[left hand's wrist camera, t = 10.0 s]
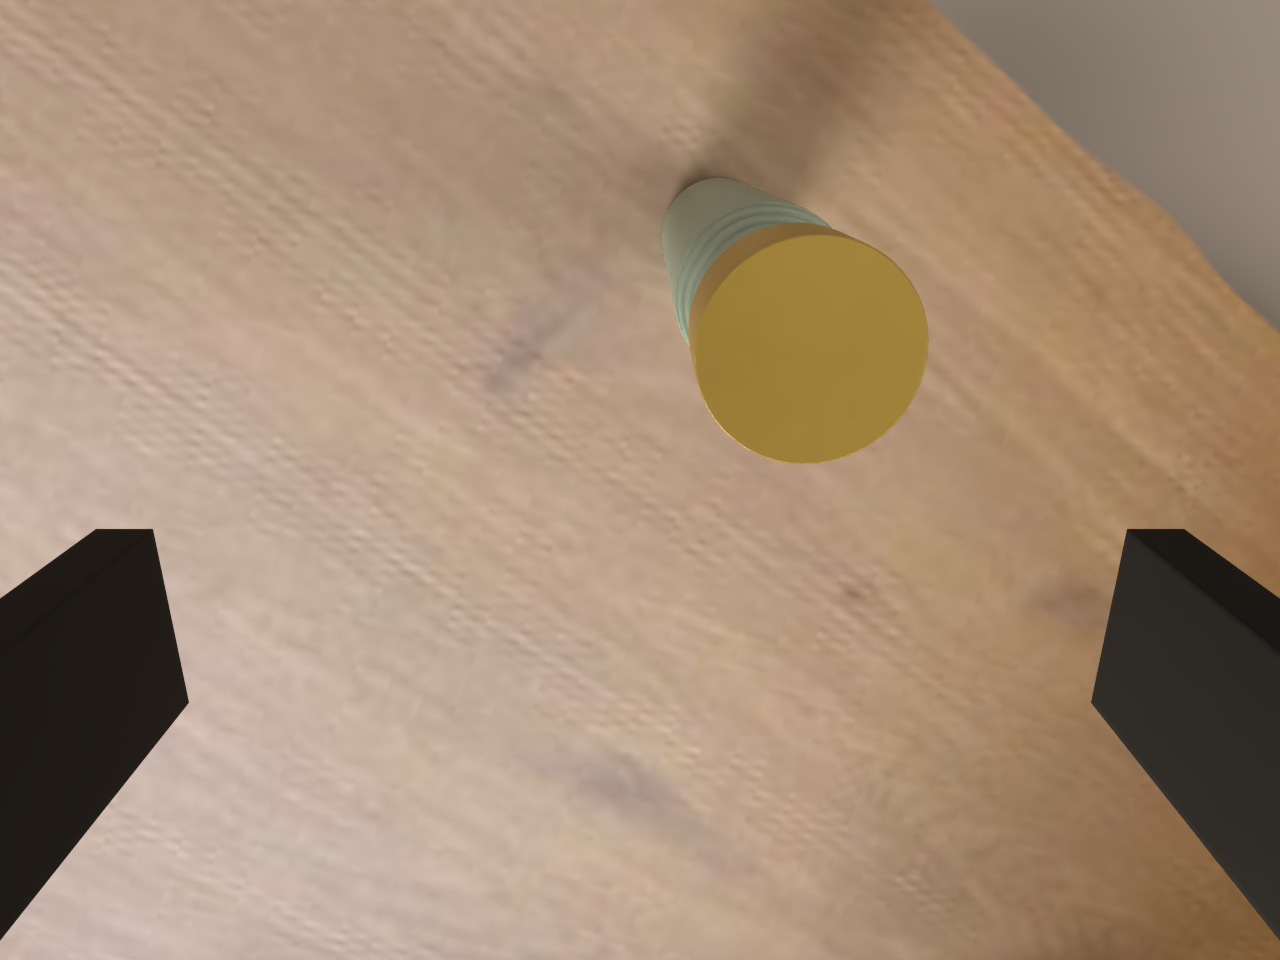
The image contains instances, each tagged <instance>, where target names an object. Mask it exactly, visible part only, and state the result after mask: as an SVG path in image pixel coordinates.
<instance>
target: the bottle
mask: <svg viewBox="0 0 1280 960" xmlns="http://www.w3.org/2000/svg"><path fill="white" fill-rule="evenodd" d="M797 222H800V223H813V224H817V225H822V226H826V227H829V228H831V227H830V226H829V225H828V224H827V223H826V222H825V221H824V220H822V219H821V218H820V217H818V216H817V215H815V214H814V213H812V212H810V211H808V210H806V209H804V208H802V207H799V206H797V205H794V204H792V203H790V202H787V201H785V200H782V199H780V198H778V197H775V196H773V195H770V194H768V193H765V192H763V191H761V190H758V189H756V188H753V187H751V186H749V185H746V184H744V183H741V182H739V181H736V180H733V179H728V178H709V179H704V180H701V181H699V182H696V183H694V184H692V185H690V186H689V187H687V188H686V189H684V190H683V191H682V192H681V193H680V194H679V195H678V196H677V197H676V198H675V199H674V201H673V202H672V204H671V205H670V207H669V208H668V210H667V212H666V215H665V218H664V221H663V225H662V233H661V241H662V249H663V254H664V259H665V264H666V269H667V274H668V279H669V284H670V288H671V293H672V298H673V303H674V308H675V313H676V318H677V322H678V325H679V328H680V331H681V333H682V335H683V337H684V339H685V341H686V343H687V344H688V346H689V338H688V324H689V314H690V310H691V306H692V301H693V299H694V296H695V293H696V290H697V288H698V286H699V284H700V282H701V280H702V278H703V276H704V275H705V273H706V272H707V271H708V269H709V268H710V266H711V265H712V264H713V263H714V261H715V260H716V259H717V258H718V257H719V256H720V255H721V254H722V253H723V252H724V251H725V250H726V249H728V248H729V247H730V246H731V245H732V244H734V243H735V242H737V241H738V240H740V239H741V238H743V237H745V236H747V235H749V234H751V233H753V232H755V231H757V230H760V229H763V228H766V227H769V226H773V225H778V224H783V223H797Z"/></svg>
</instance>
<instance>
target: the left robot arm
mask: <svg viewBox="0 0 1280 960" xmlns="http://www.w3.org/2000/svg"><path fill="white" fill-rule="evenodd" d="M188 703H189V701H188V696H187V691H186V686H185V681H184V677H183V672H182V667H181V662H180V657H179V653H178V648H177V643H176V638H175V633H174V628H173V624H172V619H171V614H170V609H169V604H168V600H167V595H166V590H165V585H164V580H163V576H162V571H161V566H160V561H159V556H158V552H157V547H156V542H155V537H154V532H153V529H95V530H94V531H93V532H91V533H90V534H89V535H87V536H86V537H84V538H83V539H82V540H80V541H79V542H78V543H76V544H75V545H73V546H72V547H71V548H69V549H68V550H67V551H65V552H64V553H62V554H61V555H60V556H58V557H57V558H55V559H54V560H53V561H51V562H50V563H49V564H47V565H46V566H44V567H43V568H42V569H40V570H39V571H38V572H36V573H35V574H33V575H32V576H31V577H29V578H28V579H27V580H25V581H24V582H22V583H21V584H20V585H18V586H17V587H16V588H14V589H13V590H11V591H10V592H9V593H7V594H6V595H5V596H3V597H2V598H0V940H1V939H2V938H3V936H4V935H5V934H6V932H7V931H8V930H9V929H10V927H11V926H12V925H13V924H14V922H15V921H16V920H17V919H18V917H19V916H20V915H21V914H22V912H23V911H24V910H25V909H26V907H27V906H28V905H29V903H30V902H31V901H32V900H33V898H34V897H35V896H36V895H37V893H38V892H39V891H40V890H41V888H42V887H43V886H44V885H45V883H46V882H47V881H48V880H49V878H50V877H51V876H52V875H53V873H54V872H55V871H56V869H57V868H58V867H59V866H60V864H61V863H62V862H63V861H64V859H65V858H66V857H67V856H68V854H69V853H70V852H71V851H72V849H73V848H74V847H75V846H76V844H77V843H78V842H79V840H80V839H81V838H82V837H83V835H84V834H85V833H86V832H87V830H88V829H89V828H90V827H91V825H92V824H93V823H94V822H95V820H96V819H97V818H98V817H99V815H100V814H101V813H102V811H103V810H104V809H105V808H106V806H107V805H108V804H109V803H110V801H111V800H112V799H113V798H114V796H115V795H116V794H117V793H118V791H119V790H120V789H121V788H122V786H123V785H124V784H125V783H126V781H127V780H128V779H129V777H130V776H131V775H132V774H133V772H134V771H135V770H136V769H137V767H138V766H139V765H140V764H141V762H142V761H143V760H144V759H145V757H146V756H147V755H148V754H149V752H150V751H151V750H152V748H153V747H154V746H155V745H156V743H157V742H158V741H159V740H160V738H161V737H162V736H163V735H164V733H165V732H166V731H167V730H168V728H169V727H170V726H171V725H172V723H173V722H174V721H175V720H176V718H177V717H178V716H179V714H180V713H181V712H182V711H183V709H184V708H185V707H186V706H187V704H188ZM1091 703H1092V704H1093V706H1094V707H1095V708H1096V709H1097V711H1098V712H1099V713H1100V714H1101V716H1102V717H1103V718H1104V720H1105V721H1106V722H1107V723H1108V725H1109V726H1110V727H1111V728H1112V730H1113V731H1114V732H1115V733H1116V735H1117V736H1118V737H1119V738H1120V740H1121V741H1122V742H1123V743H1124V745H1125V746H1126V747H1127V748H1128V750H1129V751H1130V752H1131V754H1132V755H1133V756H1134V757H1135V759H1136V760H1137V761H1138V762H1139V764H1140V765H1141V766H1142V767H1143V769H1144V770H1145V771H1146V772H1147V774H1148V775H1149V776H1150V777H1151V779H1152V780H1153V781H1154V783H1155V784H1156V785H1157V786H1158V788H1159V789H1160V790H1161V791H1162V793H1163V794H1164V795H1165V796H1166V798H1167V799H1168V800H1169V801H1170V803H1171V804H1172V805H1173V806H1174V808H1175V809H1176V810H1177V811H1178V813H1179V814H1180V815H1181V817H1182V818H1183V819H1184V820H1185V822H1186V823H1187V824H1188V825H1189V827H1190V828H1191V829H1192V830H1193V832H1194V833H1195V834H1196V835H1197V837H1198V838H1199V839H1200V840H1201V842H1202V843H1203V844H1204V846H1205V847H1206V848H1207V849H1208V851H1209V852H1210V853H1211V854H1212V856H1213V857H1214V858H1215V859H1216V861H1217V862H1218V863H1219V864H1220V866H1221V867H1222V868H1223V869H1224V871H1225V872H1226V873H1227V875H1228V876H1229V877H1230V878H1231V880H1232V881H1233V882H1234V883H1235V885H1236V886H1237V887H1238V888H1239V890H1240V891H1241V892H1242V893H1243V895H1244V896H1245V897H1246V898H1247V900H1248V901H1249V902H1250V903H1251V905H1252V906H1253V907H1254V909H1255V910H1256V911H1257V912H1258V914H1259V915H1260V916H1261V917H1262V919H1263V920H1264V921H1265V922H1266V924H1267V925H1268V926H1269V927H1270V929H1271V930H1272V931H1273V932H1274V934H1275V935H1276V936H1277V938H1278V939H1279V940H1280V598H1278V597H1277V596H1275V595H1274V594H1273V593H1271V592H1270V591H1269V590H1267V589H1266V588H1264V587H1263V586H1262V585H1260V584H1259V583H1258V582H1256V581H1255V580H1253V579H1252V578H1251V577H1249V576H1248V575H1247V574H1245V573H1244V572H1242V571H1241V570H1240V569H1238V568H1237V567H1236V566H1234V565H1233V564H1231V563H1230V562H1229V561H1227V560H1226V559H1225V558H1223V557H1222V556H1220V555H1219V554H1218V553H1216V552H1215V551H1213V550H1212V549H1211V548H1209V547H1208V546H1207V545H1205V544H1204V543H1202V542H1201V541H1200V540H1198V539H1197V538H1196V537H1194V536H1193V535H1191V534H1190V533H1189V532H1187V531H1186V530H1185V529H1127V532H1126V537H1125V542H1124V547H1123V552H1122V556H1121V561H1120V566H1119V571H1118V576H1117V580H1116V585H1115V590H1114V595H1113V600H1112V604H1111V609H1110V614H1109V619H1108V624H1107V629H1106V633H1105V638H1104V643H1103V648H1102V653H1101V657H1100V662H1099V667H1098V672H1097V677H1096V681H1095V686H1094V691H1093V696H1092V701H1091Z"/></svg>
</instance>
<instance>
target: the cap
mask: <svg viewBox="0 0 1280 960" xmlns="http://www.w3.org/2000/svg"><path fill="white" fill-rule="evenodd" d="M688 338H689V347H690V353H691V357H692V362H693V366H694V370H695V374H696V378H697V383H698V386H699V389H700V392H701V396H702V398H703V400H704V402H705V404H706V406H707V408H708V410H709V412H710V413H711V415H712V416H713V418H714V419H715V421H716V422H717V423H718V424H719V426H720V427H721V428H722V429H723V430H724V431H725V432H726V433H727V434H728V435H729V436H730V437H731V438H732V439H733V440H735V441H736V442H737V443H739V444H740V445H742V446H743V447H745V448H746V449H748V450H750V451H752V452H754V453H756V454H758V455H760V456H763V457H766V458H769V459H772V460H776V461H780V462H785V463H795V464H814V463H822V462H828V461H833V460H836V459H839V458H843V457H846V456H848V455H850V454H853V453H855V452H857V451H860V450H861V449H863V448H865V447H867V446H868V445H870V444H872V443H873V442H875V441H876V440H877V439H878V438H880V437H881V436H882V435H884V434H885V433H886V432H887V431H888V430H889V429H890V428H891V427H892V426H893V425H894V424H895V423H896V422H897V421H898V420H899V419H900V417H901V416H902V415H903V414H904V412H905V411H906V410H907V408H908V406H909V405H910V403H911V402H912V400H913V399H914V397H915V394H916V392H917V390H918V388H919V386H920V383H921V380H922V377H923V374H924V371H925V367H926V361H927V356H928V341H929V340H928V327H927V321H926V317H925V312H924V309H923V306H922V303H921V301H920V298H919V295H918V294H917V292H916V290H915V288H914V286H913V284H912V283H911V281H910V280H909V279H908V277H907V276H906V275H905V273H904V272H903V271H902V270H901V269H900V268H899V267H898V266H897V265H896V264H895V263H894V262H893V261H892V260H891V259H890V258H888V257H887V256H886V255H884V254H883V253H882V252H880V251H879V250H877V249H875V248H873V247H871V246H870V245H868V244H866V243H864V242H862V241H859V240H857V239H855V238H853V237H851V236H848V235H846V234H844V233H842V232H840V231H837V230H834V229H832V228H829V227H826V226H822V225H817V224H813V223H800V222H797V223H783V224H778V225H773V226H769V227H766V228H763V229H760V230H757V231H755V232H753V233H751V234H749V235H747V236H745V237H743V238H741V239H740V240H738V241H737V242H735V243H734V244H732V245H731V246H730V247H729V248H728V249H726V250H725V251H724V252H723V253H722V254H721V255H720V256H719V257H718V258H717V259H716V260H715V261H714V263H713V264H712V265H711V266H710V268H709V269H708V271H707V272H706V273H705V275H704V276H703V278H702V280H701V282H700V284H699V286H698V288H697V290H696V293H695V296H694V299H693V301H692V306H691V310H690V314H689V324H688Z"/></svg>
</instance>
